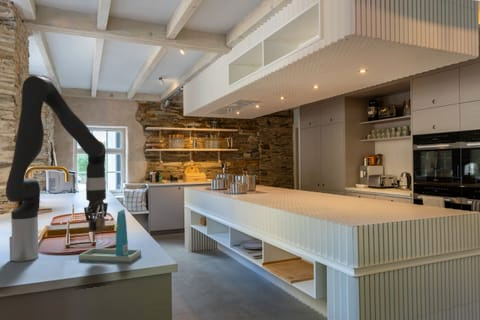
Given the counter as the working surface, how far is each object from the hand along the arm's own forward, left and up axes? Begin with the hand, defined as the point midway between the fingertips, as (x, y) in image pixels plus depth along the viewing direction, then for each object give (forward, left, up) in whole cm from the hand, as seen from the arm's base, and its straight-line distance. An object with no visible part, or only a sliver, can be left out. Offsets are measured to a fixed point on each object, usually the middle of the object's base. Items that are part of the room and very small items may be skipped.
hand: (96, 229), depth 141 cm
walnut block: (0, 0, -1) cm, 1 cm away
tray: (+6, 0, -12) cm, 13 cm away
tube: (+11, 0, -11) cm, 16 cm away
